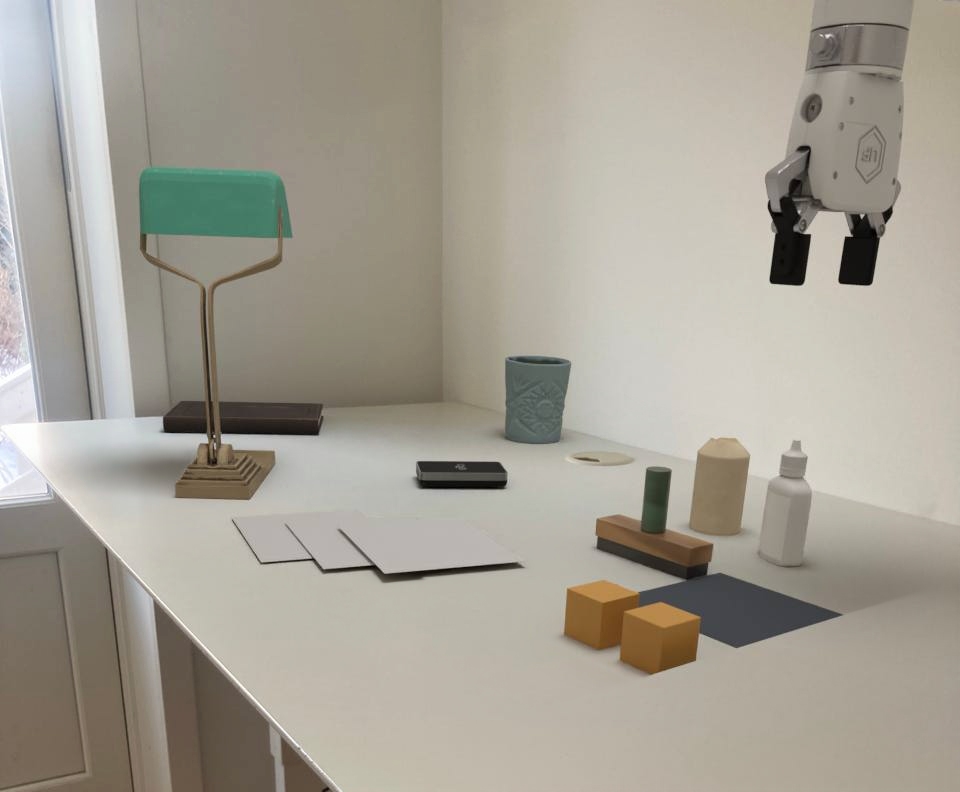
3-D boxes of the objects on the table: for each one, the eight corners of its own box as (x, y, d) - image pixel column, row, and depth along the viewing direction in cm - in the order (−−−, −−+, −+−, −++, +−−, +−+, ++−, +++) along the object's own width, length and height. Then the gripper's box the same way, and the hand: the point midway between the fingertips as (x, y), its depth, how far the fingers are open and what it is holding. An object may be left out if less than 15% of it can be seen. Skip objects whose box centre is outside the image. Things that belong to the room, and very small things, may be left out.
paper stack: (279, 590, 89) (279, 582, 88) (231, 517, 110) (231, 511, 110) (525, 567, 97) (526, 560, 97) (436, 504, 118) (436, 498, 118)
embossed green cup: (517, 430, 166) (521, 353, 161) (576, 437, 162) (581, 359, 157) (490, 439, 157) (493, 359, 153) (551, 447, 153) (556, 365, 149)
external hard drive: (415, 476, 132) (415, 460, 131) (500, 476, 134) (501, 461, 133) (419, 488, 126) (419, 472, 125) (508, 489, 127) (509, 473, 126)
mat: (719, 574, 98) (719, 572, 98) (889, 632, 84) (889, 630, 84) (613, 600, 90) (613, 598, 90) (782, 668, 76) (783, 666, 76)
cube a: (655, 650, 79) (661, 601, 78) (695, 667, 76) (701, 617, 75) (618, 661, 77) (623, 611, 75) (658, 679, 74) (663, 627, 72)
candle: (730, 540, 109) (742, 446, 105) (681, 531, 112) (691, 439, 108) (746, 529, 113) (758, 438, 110) (699, 520, 116) (709, 432, 112)
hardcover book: (181, 414, 168) (180, 400, 167) (323, 417, 171) (323, 403, 170) (163, 432, 154) (162, 417, 153) (318, 435, 156) (318, 420, 155)
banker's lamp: (143, 496, 118) (113, 161, 105) (185, 459, 137) (164, 172, 124) (281, 499, 118) (268, 166, 105) (304, 462, 138) (295, 177, 125)
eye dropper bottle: (754, 564, 101) (771, 443, 96) (758, 549, 106) (775, 433, 101) (800, 570, 100) (820, 447, 95) (802, 555, 105) (821, 437, 100)
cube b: (600, 626, 83) (603, 579, 82) (635, 641, 81) (640, 593, 79) (563, 635, 81) (566, 588, 80) (598, 652, 78) (602, 602, 77)
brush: (616, 545, 106) (624, 455, 102) (709, 577, 97) (721, 479, 93) (593, 549, 104) (601, 458, 101) (686, 582, 95) (698, 484, 92)
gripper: (830, 39, 75) (795, 287, 81) (956, 68, 84) (916, 287, 91) (748, 50, 80) (721, 282, 86) (875, 76, 90) (843, 282, 96)
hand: (821, 284), depth 89 cm, fingers open, 9 cm apart
